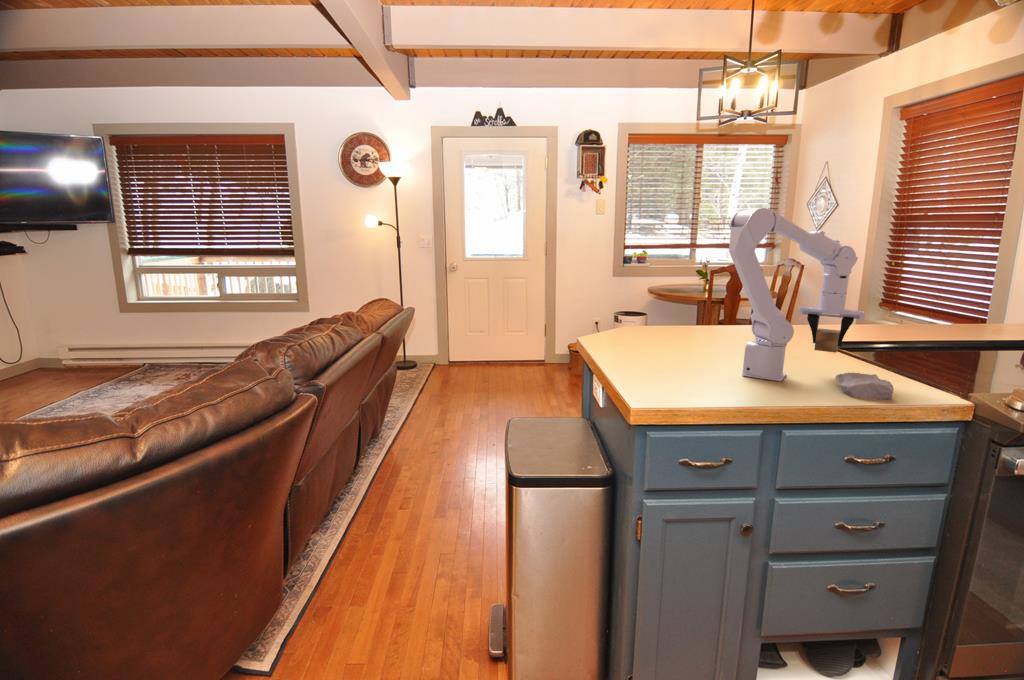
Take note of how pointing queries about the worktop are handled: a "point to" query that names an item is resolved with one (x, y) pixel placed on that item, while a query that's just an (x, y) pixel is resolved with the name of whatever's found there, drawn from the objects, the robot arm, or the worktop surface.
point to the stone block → (864, 386)
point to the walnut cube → (827, 340)
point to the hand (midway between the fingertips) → (826, 343)
